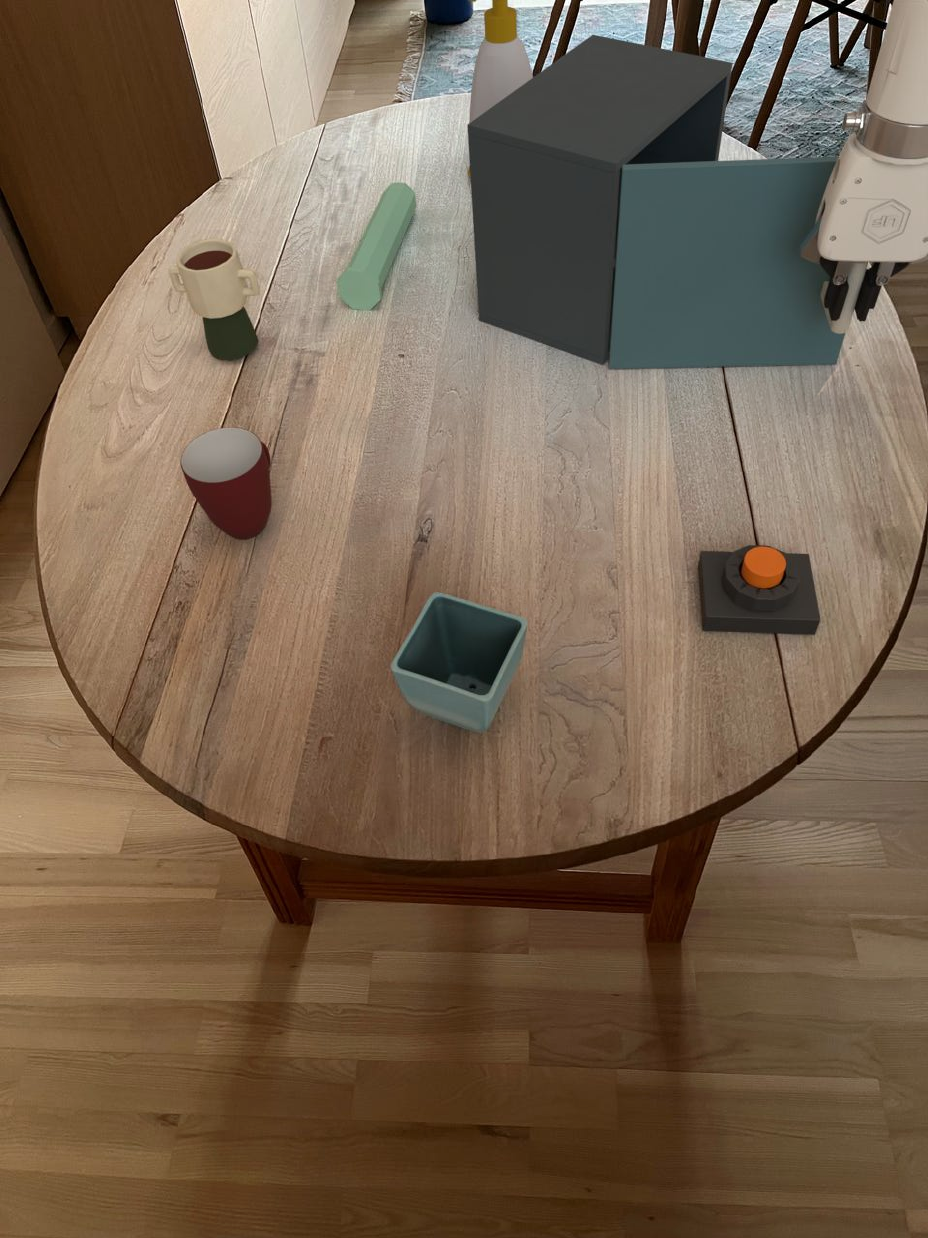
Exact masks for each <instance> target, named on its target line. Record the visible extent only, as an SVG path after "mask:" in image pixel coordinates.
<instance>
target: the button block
mask: <svg viewBox="0 0 928 1238" xmlns="http://www.w3.org/2000/svg"><path fill="white" fill-rule="evenodd" d="M755 547H770V548H773V549H775V550H777V551H779V552H780V553H781V554H782V555H783V556H784V558H785V561H786V567H785V570H784V573H783V576H782V580H781V581H780V583H779V584H778V585H776V586H774V587H772V588H767V589H761V588H756V587H754V586H752V585H750V584H748V583H747V582H746V581H745V580H744V578H743V576H742V573H741V570H742V566H743V562H744V558H745V555H746V553H747V552H748V551H749V550H751V549H753V548H755ZM697 572H698V574H697V575H698V585H699V586H698V587H699V597H700V598H699V599H700V612H701V623H702V631H703V632H724V633H750V634H751V633H753V634H776V635H777V634H780V635H781V634H782V635H807V636H808V635H809V636H810V635H811V636H815V635H816V633H817V630H818V628H819V625H820V622H821V615H820V614H821V613H820V608H819V603H818V597H817V592H816V587H815V580H814V574H813V569H812V564H811V558H810V554H809V553H799V552H798V553H796V552H795V553H793V552H785V551H782V550H780V549H778V548H775V547H772V546H771V545H764V544H763V545H761V544H760V545H758V544H749V545H746V546H743V547H741V548H739V549H736V550H733V551H718V550H717V551H715V550H700V553H699V558H698V563H697Z"/></svg>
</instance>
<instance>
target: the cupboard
mask: <svg viewBox="0 0 928 1238" xmlns="http://www.w3.org/2000/svg"><path fill="white" fill-rule="evenodd" d="M732 69H733V62H731V61H725V60H721V59H715V58H710V57H707V56H706V57H705V56H702V55H701V56H700V55H696V54H692V53H691V54H690V53H687V52H686V53H685V52H681V51H677V50H672V49H671V50H670V49H666V48H661V47H656V46H651V45H646V44H643V43H642V44H641V43H637V42H631V41H626V40H621V39H617V38H612V37H607V36H601V35H596V34H592V35H591V36H588V37H587V38H586V39H585V40H584V41H582V42H581V43H579V44H578V45H576V46H575V47H574V48H572V49H570V50H569V51H567V53H565V54H564V55H562V56H560V57H559V58H558V59H557V60H555V61H554V62H553V63H551V64H550V65H549V66H547V67H545V68H544V69H543V70H541V71H540V72H538V74H536V75H535V76H533V78H532V79H530V80H529V81H528V82H526V83H525V84H523V85H522V86H521V87H519V88H518V89H516V90H515V91H514V92H512V93H511V94H510V95H508V96H507V97H505V98H504V99H503V100H501V101H500V102H498V103H497V104H496V105H494V106H493V107H491V108H490V109H489V110H487V111H486V112H484V113H483V114H482V115H480V116H479V117H477V118H476V119H475V120H473V121H472V122H471V123H469V122H468V123H467V125H466V126H467V142H468V158H469V159H468V160H469V166H470V177H469V179H470V178H471V179H470V193H471V194H470V195H471V208H472V211H471V212H472V225H473V227H472V228H473V242H474V259H475V274H476V275H475V276H476V289H477V290H476V293H477V294H476V295H477V309H478V311H477V312H478V321H480V322H483V323H485V324H489V325H491V326H494V327H496V328H500V329H502V330H505V331H508V332H511V333H513V334H516V335H518V336H521V337H524V338H527V339H530V340H533V341H535V342H537V343H538V342H539V343H541V344H543V345H547V346H549V347H551V348H554V349H556V350H559V351H563V352H566V353H568V354H571V355H574V356H576V357H580V358H581V359H585V360H587V361H591V362H593V363H596V364H599V365H602V366H604V365H605V364H606V363H607V362H609V353H610V338H611V324H612V309H613V294H614V280H615V265H616V250H617V235H618V221H619V206H620V191H621V176H622V165H627V164H653V163H679V162H705V161H719V157H720V151H721V145H722V138H723V130H724V124H725V117H726V112H727V111H726V109H727V103H728V96H729V91H730V83H731V76H732Z"/></svg>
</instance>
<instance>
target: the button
mask: <svg viewBox="0 0 928 1238" xmlns="http://www.w3.org/2000/svg"><path fill="white" fill-rule="evenodd" d="M773 548H774V547H773ZM773 548H770V547H755V548H753V549H751V550H749V551H748V552H747V553H746V555H745V558H744V562H743V566H742V570H741V573H742V576H743V578H744V580H745V581H746V582H747V583H748V584H750V585H752V586H754V587H756V588H761V589H767V588H772V587H774V586H776V585H778V584H779V583H780V581H781V580H782V576H783V573H784V570H785V567H786V561H785V558H784V556H783V555H782V554H781V553H780V552H779V551H777V550H775V549H776V548H775V549H773Z"/></svg>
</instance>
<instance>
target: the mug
mask: <svg viewBox="0 0 928 1238" xmlns="http://www.w3.org/2000/svg"><path fill="white" fill-rule="evenodd" d="M179 460H180V461H179V465H180V469H181V472H182V473H183V477H184V479H185V482H186V484H187V486H188V488H189V491H190V493H191V494H192V496H193V497H194V498H195V500H196V501H197V503H198V504H199V506H200V507H201V509H202V510H203V511H204V513H205V515H206V516H207V517H208V519H209V520H210V522H211V523H212V524H213V525H214V526H215V527H216V528H217V529H219V530H220V531H222V532H223V533H225V534H227V535H228V536H230V537H231V538H234V539H236V540H243V541H244V540H250V539H253V538H255V537H257V536H259V535H260V534H261V533H262V532H263V531H264V529H265V528H266V525H267V523H268V521H269V517H270V514H271V511H272V502H273V501H272V487H271V476H270V475H271V474H270V473H271V472H270V469H271V454H270V451H269V448H268V446H267V445H266V443H264V442H263V441H262V440H261V439H260V437H259V436H257V434H256V433H254V432H252V431H250V430H248V429H245V428H241V427H230V426H228V427H220V428H215V429H211V430H209V431H206V432H204V433H201V434H200V435H198V436H197V437H195V438H194V439H192V440H191V441H190V442H189V443H188V444H187V445H186V446H185V448H184V449H183V451H182V452H181V455H180V459H179Z"/></svg>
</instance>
